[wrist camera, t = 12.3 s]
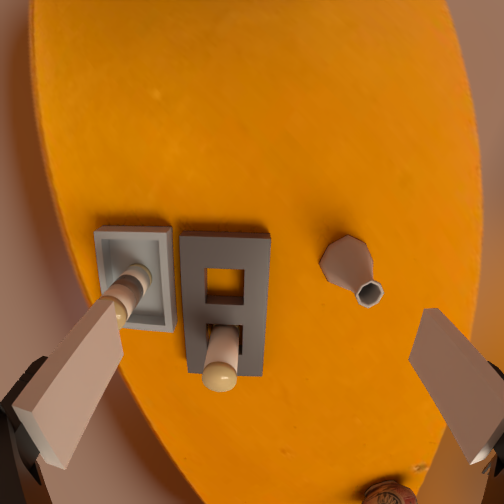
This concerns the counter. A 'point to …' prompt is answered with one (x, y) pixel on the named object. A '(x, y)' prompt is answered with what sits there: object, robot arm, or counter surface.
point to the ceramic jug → (389, 494)
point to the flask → (352, 269)
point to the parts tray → (150, 255)
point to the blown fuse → (128, 291)
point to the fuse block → (225, 307)
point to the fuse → (222, 358)
